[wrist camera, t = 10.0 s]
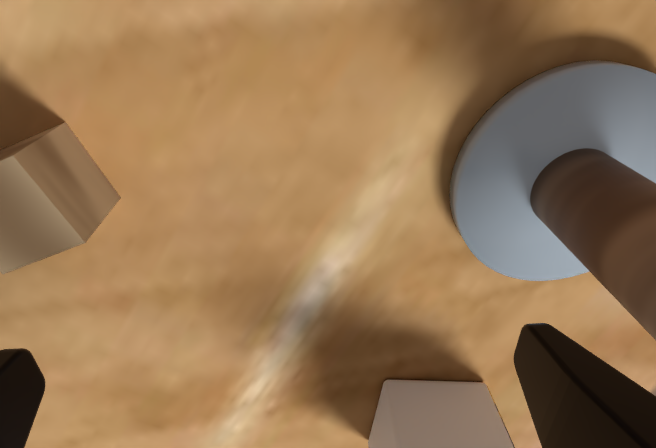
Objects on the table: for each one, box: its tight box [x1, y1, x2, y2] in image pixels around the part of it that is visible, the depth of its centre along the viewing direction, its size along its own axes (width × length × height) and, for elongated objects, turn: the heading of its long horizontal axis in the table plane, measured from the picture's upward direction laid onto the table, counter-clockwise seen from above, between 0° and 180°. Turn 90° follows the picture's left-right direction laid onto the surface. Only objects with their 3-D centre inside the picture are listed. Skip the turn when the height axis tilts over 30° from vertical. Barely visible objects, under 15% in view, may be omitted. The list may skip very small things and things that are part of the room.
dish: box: [449, 60, 656, 281], centre depth 20 cm, size 11×11×1 cm
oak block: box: [0, 122, 121, 274], centre depth 18 cm, size 4×4×4 cm
